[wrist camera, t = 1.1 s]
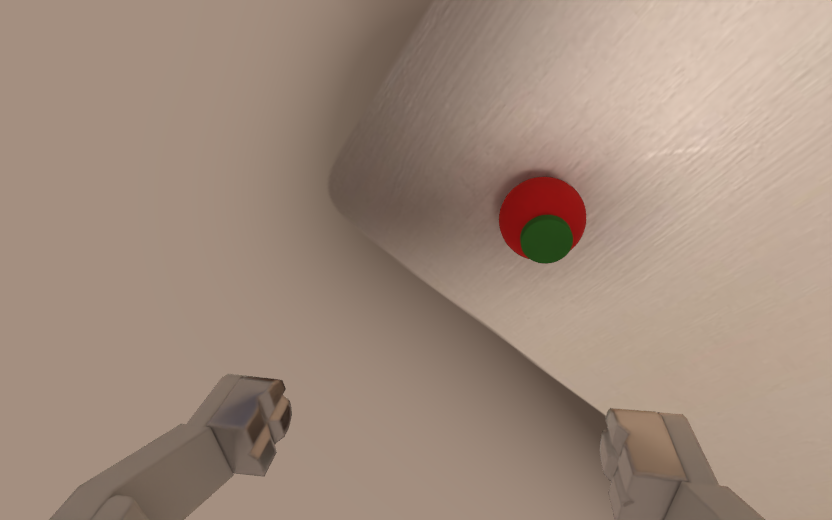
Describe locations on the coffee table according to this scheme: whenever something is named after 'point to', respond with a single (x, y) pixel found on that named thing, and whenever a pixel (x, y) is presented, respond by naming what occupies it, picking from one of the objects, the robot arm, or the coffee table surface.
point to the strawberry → (542, 219)
